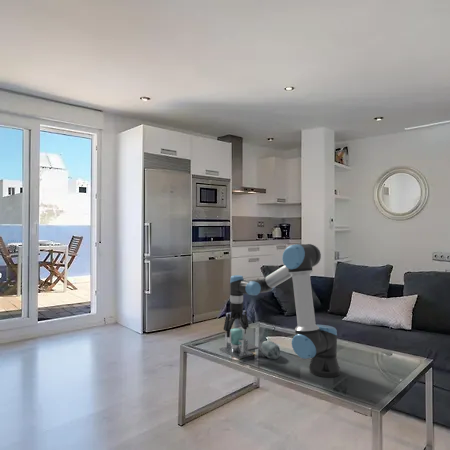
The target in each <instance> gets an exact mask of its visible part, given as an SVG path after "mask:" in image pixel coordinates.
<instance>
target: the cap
mask: <svg viewBox="0 0 450 450" xmlns="http://www.w3.org/2000/svg"><path fill="white" fill-rule="evenodd" d="M230 331H231V345H232V344H240V346H242V343H241V342H239V339H242V329H241V328H238V327H237V328H231V330H230Z"/></svg>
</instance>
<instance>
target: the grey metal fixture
mask: <svg viewBox="0 0 450 450" xmlns="http://www.w3.org/2000/svg"><path fill="white" fill-rule="evenodd" d="M224 334H225V338H224V343H225V344H224V347H220V348H219V349H218V350H219V351H220V352H223V353H225V354H227V355H229V356H231V357H233V358H235V359H236V360H237V359H238V360H239V359H243V358H246V357H248V358H249V357H251V356H254V353H253V352H251V351H250V350H248V344H249V343H248V342H249V341H248V339H246V338H245V339H239V342H241V343H242V345H240V344H232V343H228V342H227V333H224ZM240 346H242V348H241V347H240Z"/></svg>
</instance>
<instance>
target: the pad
mask: <svg viewBox="0 0 450 450" xmlns="http://www.w3.org/2000/svg"><path fill="white" fill-rule="evenodd" d="M240 348H242V345H240ZM256 349H259V347H258V346H256V345H254V344H252V343H248V351H251V350H256Z"/></svg>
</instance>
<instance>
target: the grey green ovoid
mask: <svg viewBox="0 0 450 450" xmlns="http://www.w3.org/2000/svg"><path fill="white" fill-rule="evenodd" d="M260 351H261V354H263V356H265V358H268V359H271V360H278V359H279V357H280V355H281V349H280V346H279V345H278V344H277V343H275V342H274V341H272V340H264V341H262V343H261V346H260Z"/></svg>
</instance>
